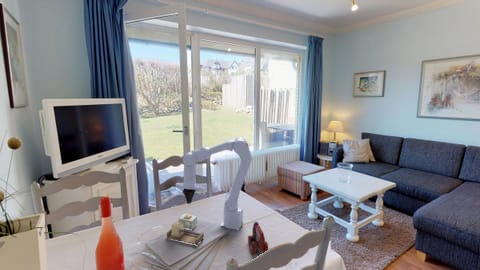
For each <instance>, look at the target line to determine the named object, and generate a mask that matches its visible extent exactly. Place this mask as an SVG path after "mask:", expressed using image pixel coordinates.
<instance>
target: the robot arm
mask: <svg viewBox="0 0 480 270" xmlns="http://www.w3.org/2000/svg"><path fill="white" fill-rule="evenodd" d="M223 151H229V152H233V151H234V153H236V154H237V155H238V157H239V158H240V163H239V166H238V169H237V172H236V173H235V177H234V179H233V181H232V185H231V187H230V189H229V191H228V192H227V193H226V194H225V200H224V201H225V202H224V203H223V204H224V206H223V221H222V222H221V224H220V225H221V226H225V227H226V228H227V229H231V230H235V231H239V230H240V229H241V226H242V225H243V223H244V209H242V208H240V207H239V205H238V201H239V196H240V193H241V190H242V188H243V184H244V182H245V179H246V176H247V174H248V171H249V168H250V166H251V162H252V160H253V159H252V152H251V150H250V147H249V144H248V142H247V141H246V139H245V138H244V137H237V138H236V139H235V138H231V139H229V140H226V141H224V142H221V143H219V144H216V145H214V146H211V147H207V146H200V148H199V149H195V150H191V151H189V152H187V153H185V155H184V156H183V157H182V162H183V182H177V183H175V188H177V189H178V188H181V189H183V190H182V193H183V195H184V197H185V201H186V204H188V205H190V204H191V203H192V202H193V197H194V196H195V193H196V191H197V192H200V193H203V192H204V191H205V190H204V189H205V187H204V186H201V185H198V184H197V183H196V181H197V180H196V171H197V168H196V163H199V162H201V161H204V160H205V161H206V160H207V159H210V158H211V156H212V155H214V154H217V153H220V152H223ZM221 226H220V227H221ZM225 227H224V228H225Z"/></svg>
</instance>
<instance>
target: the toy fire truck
mask: <svg viewBox="0 0 480 270" xmlns="http://www.w3.org/2000/svg"><path fill="white" fill-rule="evenodd" d="M247 244H248V246H249V248H250V253H251V254H256V251H257V252H258V253H266V252H265V251H267V250H268V251H269V244H268V242H267V241H266V238H265V234H264V232H263V230H262V228H261V226H260V224H259V222H258V221H255V222H253V226H252V234H251V235H248V236H247Z"/></svg>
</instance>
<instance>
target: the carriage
mask: <svg viewBox="0 0 480 270" xmlns="http://www.w3.org/2000/svg"><path fill="white" fill-rule="evenodd" d="M171 229H172V233H171V236H172V237H176V238H181V237H182V236H183V235H184V232H183V230H184V229H183V223H182V222H179V220H178V221H175V222H174V223H172V224H171Z"/></svg>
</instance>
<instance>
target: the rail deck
mask: <svg viewBox="0 0 480 270" xmlns="http://www.w3.org/2000/svg"><path fill="white" fill-rule="evenodd" d="M183 232H184V235H183V236H182V237H181V238H176V237H172V236H171V233H172V228H170V229H169V230H168V231H167V232H166V240H168V239H173V240H178V241H184V242H188V243H192V244H196V245H198V243H199V242H200V241H201V240H202V239H203V237H204V235H205V234H204V232H201V233H199V232H195V231H194V232H193V231H189V230H185V229H183ZM204 238H205V237H204ZM203 240H204V239H203ZM203 240H202V241H203ZM198 246H199V245H198Z"/></svg>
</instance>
